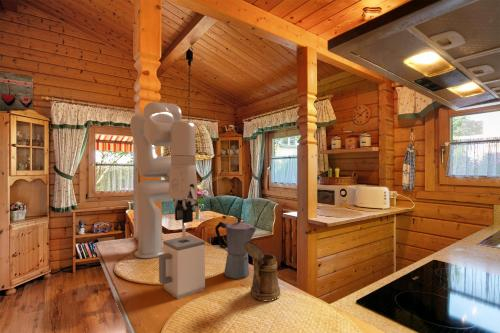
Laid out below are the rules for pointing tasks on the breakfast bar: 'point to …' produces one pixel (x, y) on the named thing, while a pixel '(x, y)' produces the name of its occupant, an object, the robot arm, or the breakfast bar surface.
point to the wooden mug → (263, 273)
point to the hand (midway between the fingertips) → (183, 220)
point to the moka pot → (236, 247)
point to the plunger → (180, 216)
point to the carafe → (182, 266)
